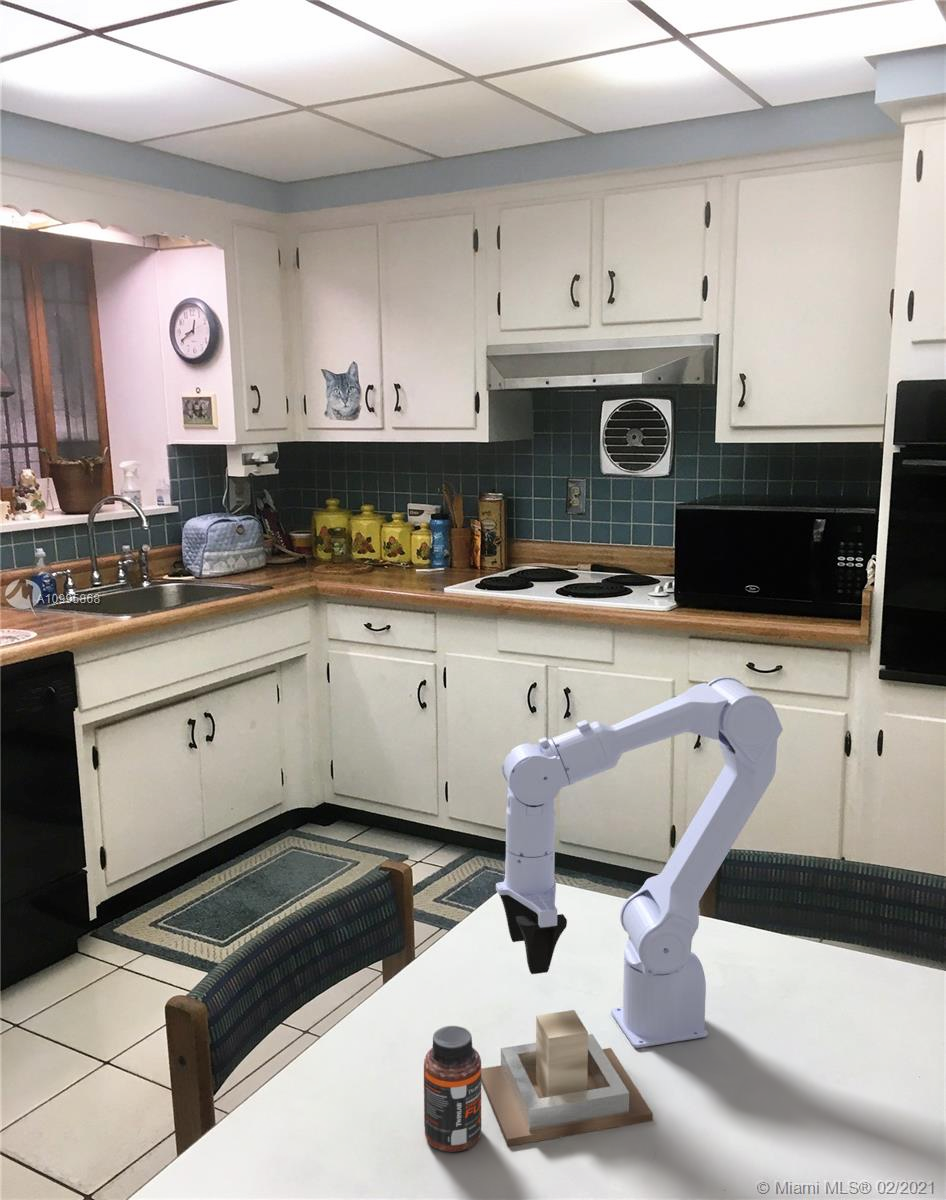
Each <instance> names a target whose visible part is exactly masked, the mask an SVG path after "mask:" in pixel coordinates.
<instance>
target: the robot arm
mask: <svg viewBox="0 0 946 1200" xmlns="http://www.w3.org/2000/svg"><path fill="white" fill-rule="evenodd" d="M780 721H781V720H780V718H779V716H778V713H777V711H776V709H775V707H774V705H773V704H772V703H771V702H770V701H769V700H768V699H767V698H765V697H764V696H762V695H759V694H757V693H756V692H755V691H753V690H751V689H750V688H748V687H747V686H746V685H745V684H744V683H742V681H740V680H739V679H736V678H735V677H731V676H720V677H716V678H714V679H712V680H710V681H709V682H708V683H706V682H703V683H702V682H701V683H698V684H695V685H694V686H692V687H690V688H689V689H687V690H686V691H684V692H682V693H681V694H679V695H677V696H673V697H672V698H670V699H668V700H665V701H663V702H661V703H659V704H657V705H654V706H652V707H650V708H648V709H646V710H644V711H641V712H639V713H637V714H635V715H632V716H631V717H628V718H626V719H624V720H621V721H620V722H618V723H615V724H613V725H609V724H606V723H603V722H600V721H597V720H595V721H593V722H590V723H589V722H588V720H586V719H584V720H581V721H579V722H577V723H575V724H576V728H575V729H572V730H569V731H567V732H565V733H561V734H559V735H556V736H553V737H552V738H547V737H546V736H545V737H542V738H539V739H538V741H537V742H538V744H535V743H533V744H531V742H527V743H522V744H519V745H517V746H515V747H514V748H512V749H511V750H510V753H508V754H507V755H506V756H505V759H504V761H503V764H502V765H501V772H502V775H503V777H504V779H505V781H506V782H507V784H508V785H509V786H508V787H507V796H506V804H507V806H506V808H505V809H506V810H505V860H504V862H505V863H504V864H505V865H504V874H505V875H504V880H501V881H500V880H499V881H496V883H495V884H494V887H495V891H496V892H497V894H498V895H499V897H500V900H501V902H502V905H503V909H504V912H505V917H506V921H507V927H508V933H509V936H510V939H511V941H512V943H517V942H524V947H525V955H526V963H527V966H528V970H529V972H530V975H536V974H545V973H548V972H549V969H550V966H551V962H552V959H553V956H554V952H555V948H556V947H557V946H556V945H557V944H558V943H557V942H558V940H559V939H560V937H561V935H562V934H563V932H564V931H565V930H566V928H567V925H568V919H567V917H566V916H565V915H564V914H563V913H560V914H558V908H557V907H556V893H557V883H556V880H555V862H556V861H555V858H556V857H555V856H556V855H555V854H556V853H555V849H556V847H555V843H556V842H555V838H556V834H555V833H556V809H555V799H556V797H558V794H559V793H560V791H561V789H563V788H565V787H568V786H571V785H573V784H576V783H578V782H581V781H584V780H586V779H588V778H592V777H594V776H596V775H599V774H601V773H604V772H606V771H608V770H609V771H610V770H612V769H614V768H616V766H617V765H618V764H619V763H618V762H619V761H620V758H621V757H622V755H623V754H624V753H627V752H630V751H633V750H636V749H638V748H642V747H645V746H648V745H651V744H654V743H657V742H660V741H663V740H667V739H669V738H672V737H676V736H678V735H682V734H684V733H689V734H690V733H691V734H694V735H697V736H702V737H704V738H708V739H711V740H715V741H718V743H719V744H718V745H719V748H720V750H721V753H722V756H723V759H724V762H725V764H724V767H723V768H722V769H721V772H720V773H719V775H718V776H717V779H716V780H715V782H714V784H713V785H712V787H711V788H710V790H709V792H708V793H707V795H706V797H705V799H704V801H703V802H702V803H701V805H700V807H699V809H698V810H697V812H696V813H695V815H694V817H693V819H692V821H691V822H690V824H689V825H688V827H687V828H686V830H685V831H684V833H683V835H682V837H681V839H680V841H679V842H678V844H677V846H676V848H675V849H674V850H673V852H672V854H671V856H670V857H669V859H668V860H667V862H666V864H665V866H664V867H663V869H662V871H661V872H660V873H659V874H657V875H654V876H651V877H648V878H647V879H646V880H645V881H644V884H643V885H642V886H641V888H640V889H639V890H638V891H636V892H635V893H634V894H631V895H630V896H629V897H628V898H627V899H626V900H625V901H624V903H623V904H622V906H621V910H620V913H619V914H620V916H619V917H620V918H619V919H620V922H621V926H622V928H623V930H624V931H625V932H626V933H627V935H628V941H627V944H626V946H625V948H624V952H623V983H622V984H623V985H622V986H623V993H622V996H623V997H622V1006H619V1007H613V1008H611V1010H610V1014H611V1015H612V1017H613V1019H614V1020H615V1021H616V1023H617V1024H618V1026H619V1027H620V1029H621V1030H622V1031H623V1033H624V1035H625V1037H626V1038H627V1039H628V1041H629V1042H630V1043H631V1045H632V1046H633V1047H634V1048H636V1049H637V1048H646V1047H652V1046H657V1045H663V1044H664V1045H666V1044H671V1043H675V1042H681V1041H689V1040H695V1039H696V1040H697V1039H700V1038H706V1037H707V1036H708V1031H707V1030H706V1028H705V1024H706V1023H705V1022H706V1020H705V1019H706V1018H705V1017H706V996H707V986H706V985H707V982H706V976H705V972H704V968H703V965H702V963H701V961H700V959H699V957H698V956H697V954H696V953H694V952H693V951H692V944H693V938H694V936H695V934H696V932H697V930H698V929H699V925H700V923H699V922H700V917H699V916H700V900H701V899H702V897H703V896H704V893H705V892H706V890H707V888H708V887H709V885H710V884H711V882H712V880H713V879H714V877H715V876H716V875H717V873H718V870H719V869H720V867H721V865H722V864H723V862H724V860H725V859H726V857H727V855H728V854H729V852H730V850H731V849H732V847H733V845H734V844H735V842H736V840H737V839H738V837H739V835H740V834H741V832H742V830H743V829H744V827H745V825H746V823H747V822H748V820H749V819H750V818H751V816H752V814H753V812H754V810H755V809H756V807H757V805H758V804H759V803H760V801H761V799H762V798H763V795H764V794H765V792H766V791H767V789H768V788H769V786H770V785H771V782H772V781H773V779H774V777H775V774H776V769H777V768H776V767H777V754H778V753H777V751H778V739H779V737H780V736H781V734H782V732H783V726H782V723H781V722H780Z"/></svg>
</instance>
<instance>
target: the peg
mask: <svg viewBox="0 0 946 1200" xmlns="http://www.w3.org/2000/svg"><path fill="white" fill-rule="evenodd" d="M535 1023H536V1024H535V1029H536V1030H535V1031H536V1033H535V1036H536V1037H535V1039H536V1040H535V1043H536V1082H537V1084H538V1086H539V1089H540V1091H541V1093H542V1095H543V1097H544V1098H545V1097H551V1096H557V1095H563V1094H569V1093H575V1092H581V1091H587V1072H588V1034H589V1032H588V1030H587V1029H586V1026H585V1025H584V1023H583V1022H582V1020H581V1018H580V1016H579V1014H577V1012H576V1010H575V1009H571V1010H565V1011H564V1010H563V1011H559V1012H557V1011H556V1012H552V1013H545V1014H537V1015H536V1020H535Z"/></svg>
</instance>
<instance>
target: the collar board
mask: <svg viewBox="0 0 946 1200" xmlns="http://www.w3.org/2000/svg"><path fill="white" fill-rule="evenodd" d="M481 1086H482V1088H483V1090H484V1093H485V1095H486V1098H487V1100H488V1102H489V1105H490V1107H491V1109H492V1112H493V1114H494V1117H495V1120H496V1122H497V1124H498V1127H499V1130H500V1131H501V1134H502V1137H503V1140H504V1141H505V1144H506V1146H507V1147H511V1146H516V1145H521V1144H527V1143H533V1142H538V1141H544V1140H545V1141H546V1140H549V1139H556V1138H560V1137H566V1136H571V1135H572V1136H573V1135H579V1134H584V1133H589V1132H594V1131H600V1130H601V1131H602V1130H605V1129H611V1128H616V1127H621V1126H622V1127H623V1126H627V1125H632V1124H638V1123H645V1122H650V1121H653V1119H654V1118H653V1111H652V1110H651V1108H650V1107H649V1105H648V1104H647V1102H646V1101H645V1099H644V1098H643V1096H642V1094H641V1093H640V1091H639V1089H638V1088H637V1086H636V1085H635V1083H634V1082H633V1081H632V1079H631V1077H630V1075H629V1074H628V1073H627V1071H626V1069H625V1068H624V1066H623V1064H622V1063H621V1062H620V1060H619V1058H618V1057H617V1055H616V1054H615V1053H614V1050H613V1048H612V1047H608V1048H602V1047H601V1045H600V1044H599V1042H598V1041H597V1039H596V1037H595V1036H594V1033H588V1072H587V1091H581V1092H575V1093H569V1094H563V1095H557V1096H551V1097H545V1098H544V1097H543V1095H542V1093H541V1091H540V1089H539V1086H538V1084H537V1082H536V1042H532V1043H525V1044H519V1045H513V1046H507V1047H500V1065H496V1066H489V1067H483V1068H482V1067H481Z"/></svg>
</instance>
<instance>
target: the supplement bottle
mask: <svg viewBox="0 0 946 1200" xmlns="http://www.w3.org/2000/svg"><path fill="white" fill-rule="evenodd" d="M472 1039H473V1038H472V1033H471V1032H470V1030H468V1029H467V1028H465V1027H462V1026H459V1025H448V1026H447V1025H446V1026H443V1027H440V1028H438V1029H436V1031H435V1032H434V1033H433V1036H432V1045H431V1046H432V1048H430V1049H429V1050H428V1051H427V1053H426V1054H425V1057H424V1060H423V1108H424V1109H423V1112H424V1113H423V1114H424V1115H423V1119H424V1120H423V1122H424V1136H425V1139H426V1141H427V1142H428V1144H429V1145H431V1146H432V1147H433V1148H435V1149H436V1150H437V1149H438V1150H439V1151H443V1152H448V1153H449V1152H451V1153H457V1152H462V1151H465V1150H467V1149H469V1148H471V1147H473V1146H474V1145H475V1144H476V1143H477V1142H478V1141H479V1139H480V1137H481V1134H482V1083H481V1069H482V1058H481V1055H480V1054H479V1052H478V1051H477V1050H476V1049H475V1048H474V1047H473V1040H472Z"/></svg>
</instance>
